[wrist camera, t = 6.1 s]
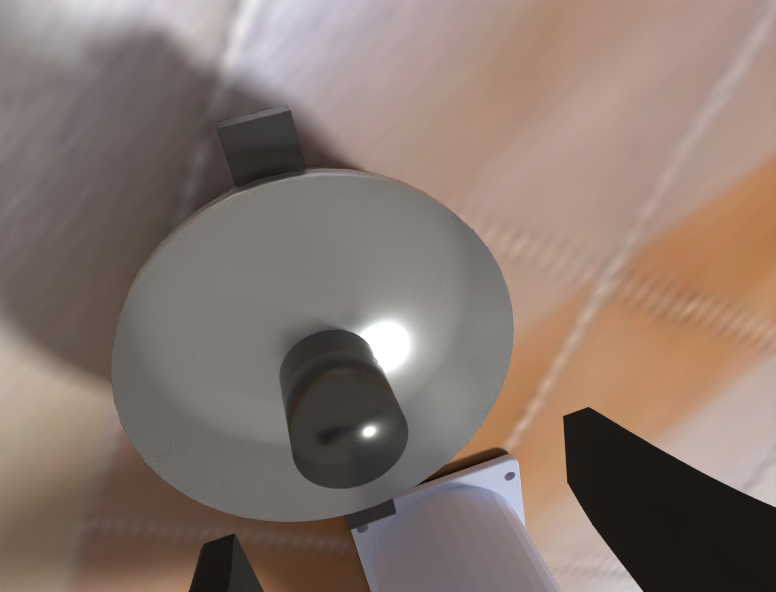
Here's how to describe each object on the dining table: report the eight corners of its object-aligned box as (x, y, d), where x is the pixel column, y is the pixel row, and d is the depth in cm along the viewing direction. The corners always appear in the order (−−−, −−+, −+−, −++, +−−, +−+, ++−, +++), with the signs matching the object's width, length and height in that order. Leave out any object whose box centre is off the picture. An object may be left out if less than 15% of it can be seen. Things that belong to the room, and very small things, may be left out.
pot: (464, 417, 25) (504, 484, 22) (234, 495, 24) (237, 580, 20) (407, 57, 18) (454, 72, 14) (71, 139, 16) (34, 177, 13)
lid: (492, 433, 22) (558, 536, 18) (181, 518, 20) (174, 657, 15) (484, 127, 16) (577, 171, 12) (57, 200, 14) (-5, 283, 10)
